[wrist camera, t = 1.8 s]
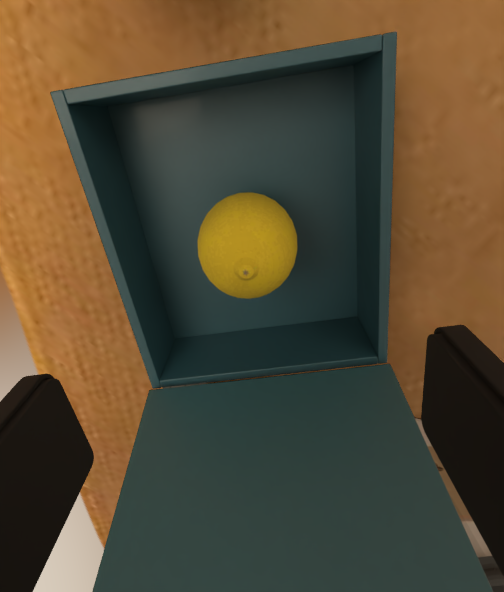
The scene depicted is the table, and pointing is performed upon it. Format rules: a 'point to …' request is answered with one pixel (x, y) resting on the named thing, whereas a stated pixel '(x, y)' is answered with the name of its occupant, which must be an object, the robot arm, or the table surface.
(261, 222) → the lemon
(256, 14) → the table surface
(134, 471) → the lid
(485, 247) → the table surface
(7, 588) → the robot arm
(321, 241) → the chest
